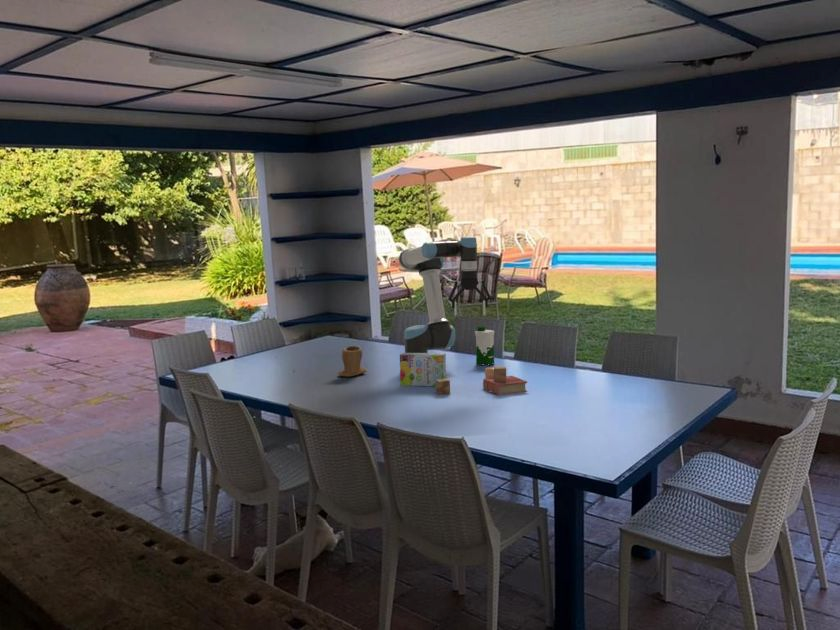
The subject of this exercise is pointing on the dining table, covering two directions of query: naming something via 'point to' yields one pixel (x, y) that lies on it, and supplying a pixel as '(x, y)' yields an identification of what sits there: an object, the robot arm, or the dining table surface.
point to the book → (505, 385)
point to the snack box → (422, 368)
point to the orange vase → (352, 361)
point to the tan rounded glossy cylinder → (489, 372)
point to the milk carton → (484, 346)
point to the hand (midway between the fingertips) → (469, 315)
